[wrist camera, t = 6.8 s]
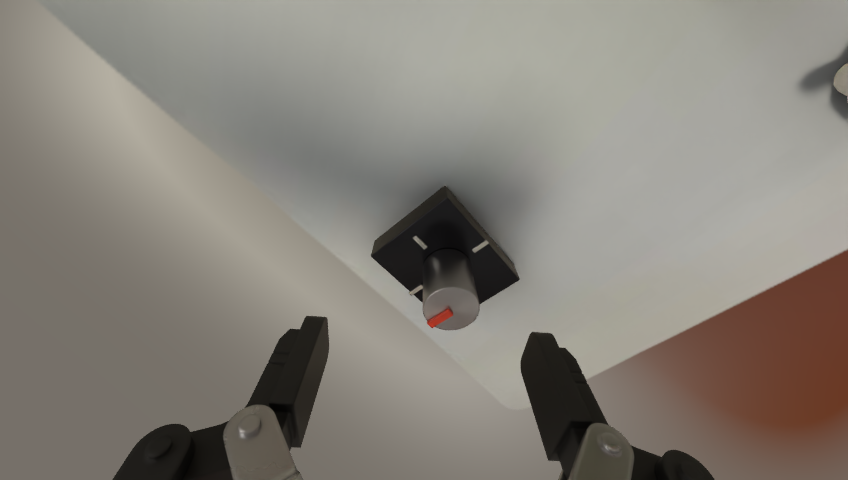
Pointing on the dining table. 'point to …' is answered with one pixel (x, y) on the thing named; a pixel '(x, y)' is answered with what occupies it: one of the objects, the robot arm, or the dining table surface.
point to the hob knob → (449, 290)
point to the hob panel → (443, 246)
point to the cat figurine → (842, 80)
